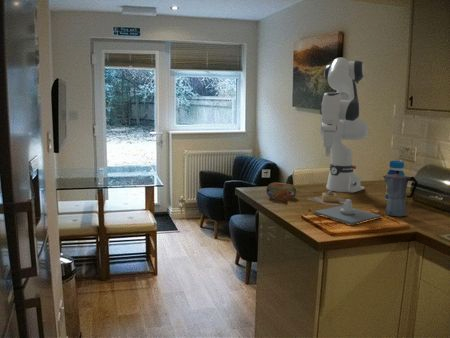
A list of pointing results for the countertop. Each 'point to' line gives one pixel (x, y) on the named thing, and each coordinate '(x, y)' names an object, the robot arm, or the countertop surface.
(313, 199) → the stand
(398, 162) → the beverage bottle
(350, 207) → the plate
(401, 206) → the moka pot
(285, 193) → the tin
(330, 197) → the tan square frame
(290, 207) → the countertop surface
